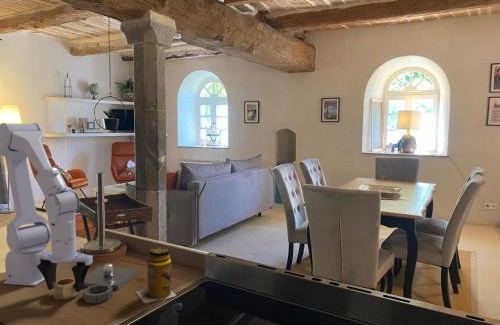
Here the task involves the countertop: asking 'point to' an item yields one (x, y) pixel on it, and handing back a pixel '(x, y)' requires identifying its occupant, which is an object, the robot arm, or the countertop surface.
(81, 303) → the countertop surface
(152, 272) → the condiment
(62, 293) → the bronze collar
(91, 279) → the piston stand
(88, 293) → the grey octagonal ring
